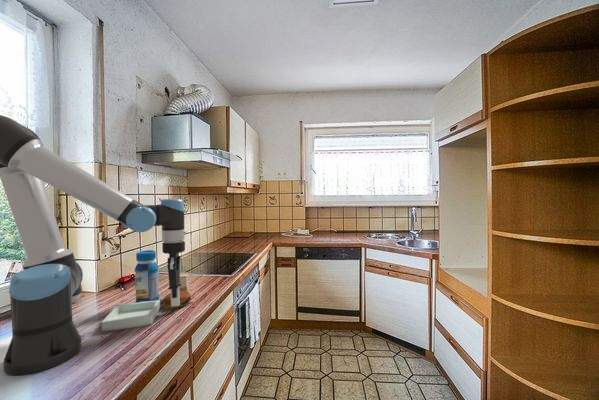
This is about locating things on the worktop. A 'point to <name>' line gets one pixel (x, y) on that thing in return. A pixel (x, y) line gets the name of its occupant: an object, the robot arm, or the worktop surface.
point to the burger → (183, 297)
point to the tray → (131, 315)
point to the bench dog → (183, 282)
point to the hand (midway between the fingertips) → (175, 305)
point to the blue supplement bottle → (146, 276)
